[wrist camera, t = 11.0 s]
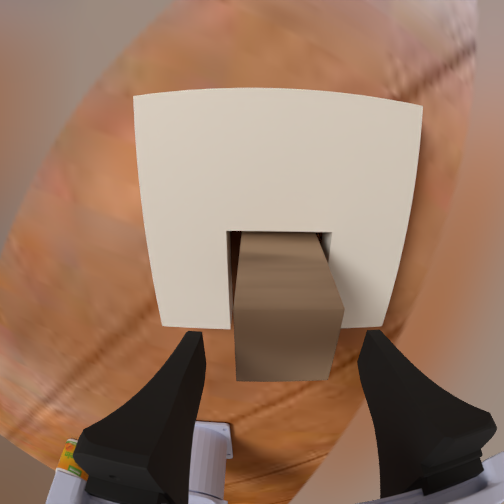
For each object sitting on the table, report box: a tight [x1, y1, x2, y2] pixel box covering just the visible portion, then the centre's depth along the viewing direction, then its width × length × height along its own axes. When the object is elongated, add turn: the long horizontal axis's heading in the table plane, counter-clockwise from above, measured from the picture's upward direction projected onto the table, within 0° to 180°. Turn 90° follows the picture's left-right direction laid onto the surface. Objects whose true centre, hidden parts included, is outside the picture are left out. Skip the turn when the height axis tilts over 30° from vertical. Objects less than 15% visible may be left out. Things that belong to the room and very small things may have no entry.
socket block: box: [133, 88, 423, 329], centre depth 18 cm, size 15×16×2 cm
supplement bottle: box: [56, 439, 89, 481], centre depth 34 cm, size 5×5×10 cm
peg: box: [233, 231, 345, 382], centre depth 17 cm, size 4×4×9 cm
